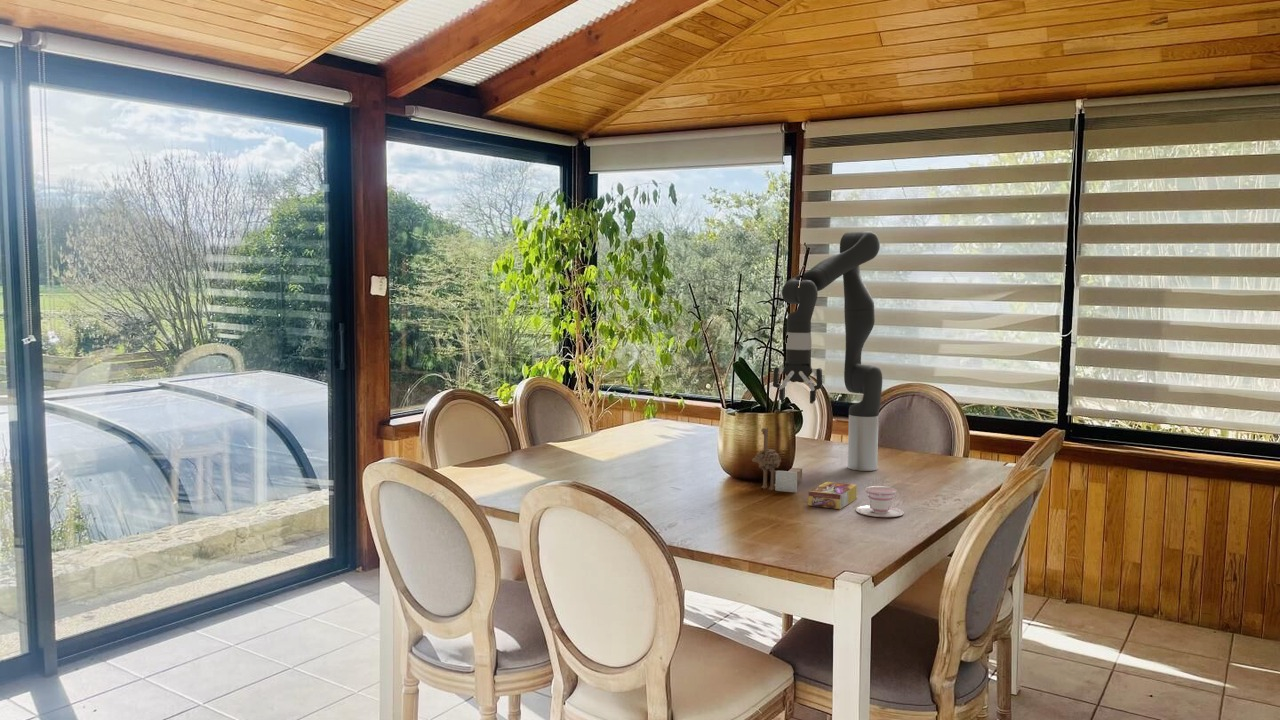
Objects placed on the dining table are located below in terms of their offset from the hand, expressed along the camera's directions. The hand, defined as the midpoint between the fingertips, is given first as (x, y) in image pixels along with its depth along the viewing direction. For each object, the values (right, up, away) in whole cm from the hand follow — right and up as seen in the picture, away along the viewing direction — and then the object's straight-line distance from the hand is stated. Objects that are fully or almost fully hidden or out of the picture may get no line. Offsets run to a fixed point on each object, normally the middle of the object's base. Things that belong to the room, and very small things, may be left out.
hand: (797, 402), depth 272 cm
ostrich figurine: (-7, -25, -5) cm, 26 cm away
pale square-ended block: (-2, -25, -5) cm, 25 cm away
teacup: (+15, -27, -35) cm, 47 cm away
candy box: (+9, -24, -18) cm, 31 cm away
